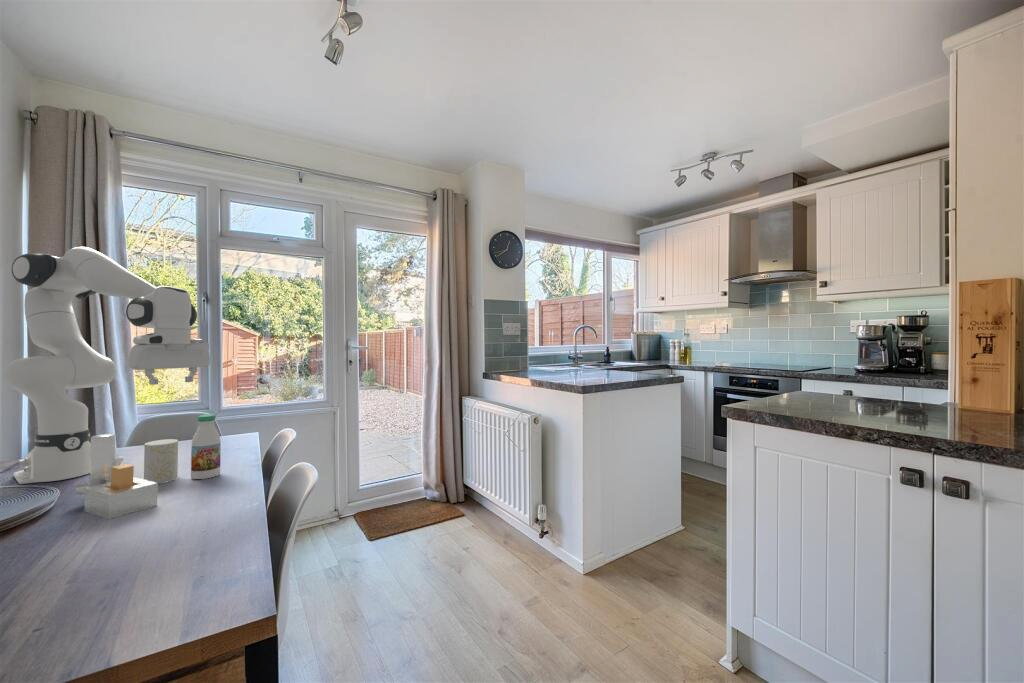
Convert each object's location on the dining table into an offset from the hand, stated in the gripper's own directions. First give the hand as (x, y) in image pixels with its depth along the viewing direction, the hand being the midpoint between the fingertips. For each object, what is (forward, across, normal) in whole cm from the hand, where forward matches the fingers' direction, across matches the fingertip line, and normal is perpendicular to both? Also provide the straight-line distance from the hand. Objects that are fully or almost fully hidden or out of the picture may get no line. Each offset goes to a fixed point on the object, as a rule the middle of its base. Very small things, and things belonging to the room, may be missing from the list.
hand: (171, 383), depth 127 cm
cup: (+31, -1, -7) cm, 32 cm away
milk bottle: (+31, -9, +2) cm, 33 cm away
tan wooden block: (+31, +16, +10) cm, 36 cm away
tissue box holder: (+31, +16, +5) cm, 35 cm away
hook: (+31, +10, -11) cm, 35 cm away
